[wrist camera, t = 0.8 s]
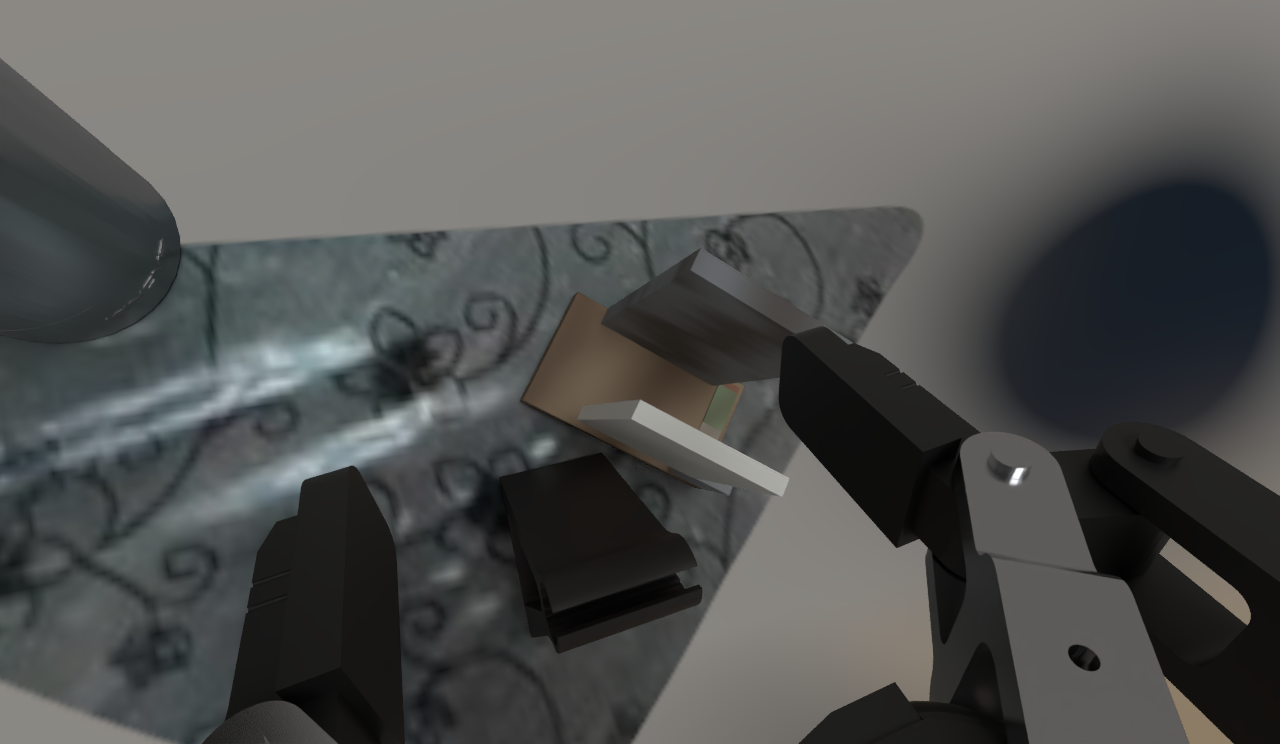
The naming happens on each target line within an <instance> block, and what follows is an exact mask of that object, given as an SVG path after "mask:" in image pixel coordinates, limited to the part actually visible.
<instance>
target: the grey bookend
mask: <svg viewBox="0 0 1280 744" xmlns="http://www.w3.org/2000/svg"><path fill="white" fill-rule="evenodd" d="M820 326H824V327H827V326H825V325H824V324H822V323H820V322H819V321H817V320H816V319H814V318H812V317H811V316H809V315H808V314H806V313H804V312H803V311H801V310H799V309H798V308H796V307H795V306H793V305H791V304H790V303H788V302H787V301H785V300H783V299H782V298H780V297H779V296H777V295H775V294H774V293H772V292H771V291H769V290H767V289H766V288H764V287H763V286H761V285H759V284H758V283H756V282H755V281H753V280H751V279H750V278H748V277H747V276H745V275H743V274H742V273H740V272H739V271H737V270H735V269H734V268H732V267H731V266H729V265H727V264H726V263H724V262H723V261H721V260H719V259H718V258H716V257H715V256H713V255H711V254H710V253H708V252H707V251H705V250H703V249H702V248H700V249H698V250H697V251H695V252H694V253H692V254H691V255H689V256H688V257H686V258H685V259H683V260H682V261H680V262H679V263H677V264H676V265H674V266H672V267H671V268H669V269H668V270H666V271H665V272H663V273H662V274H660V275H659V276H657V277H656V278H654V279H653V280H651V281H650V282H648V283H647V284H645V285H643V286H642V287H640V288H639V289H637V290H636V291H634V292H633V293H631V294H630V295H628V296H627V297H625V298H624V299H622V300H621V301H619V302H617V303H616V304H614V305H613V306H611V307H610V308H608V309H607V308H606V307H604V306H602V305H600V304H598V303H597V302H595V301H593V300H591V299H590V298H588V297H586V296H584V295H583V294H581V293H579V292H577V293H576V294H575V295H574V297H573V299H572V301H571V303H570V305H569V307H568V309H567V310H566V312H565V314H564V316H563V318H562V320H561V322H560V324H559V326H558V328H557V330H556V332H555V334H554V336H553V338H552V340H551V342H550V344H549V346H548V347H547V349H546V351H545V353H544V355H543V357H542V359H541V361H540V363H539V365H538V367H537V369H536V371H535V373H534V375H533V377H532V379H531V381H530V383H529V385H528V386H527V388H526V390H525V392H524V394H523V396H522V398H521V400H520V401H522V402H524V403H526V404H528V405H530V406H532V407H534V408H536V409H538V410H540V411H542V412H544V413H546V414H548V415H550V416H552V417H554V418H556V419H558V420H560V421H562V422H564V423H566V424H568V425H570V426H572V427H574V428H576V429H578V430H580V431H582V432H584V433H586V434H588V435H590V436H592V437H594V438H596V439H598V440H600V441H602V442H604V443H606V444H608V445H610V446H612V447H614V448H616V449H618V450H620V451H622V452H624V453H626V454H628V455H630V456H632V457H635V458H637V459H639V460H641V461H643V462H645V463H647V464H649V465H651V466H653V467H655V468H657V469H659V470H661V471H663V472H665V473H667V474H669V475H671V476H673V477H675V478H677V479H679V480H681V481H683V482H685V483H687V484H689V485H691V486H693V487H695V488H699V487H697V486H695V485H693V484H691V483H689V482H687V481H685V480H683V479H681V478H679V477H677V476H675V475H673V474H671V473H669V471H670V469H671V467H669V466H667V465H665V464H663V463H661V462H659V461H658V460H656V459H654V458H652V457H650V456H648V455H646V454H644V453H642V452H640V451H638V450H636V449H634V448H632V447H630V446H628V445H626V444H624V443H622V442H620V441H618V440H616V439H614V438H612V437H610V436H608V435H606V434H604V433H602V432H600V431H598V430H596V429H594V428H592V427H590V426H588V425H586V424H584V423H582V422H580V421H578V420H576V419H577V417H578V415H579V413H580V411H581V409H582V407H583V406H584V405H594V404H603V403H613V402H622V401H631V400H642V401H644V402H646V403H648V404H650V405H652V406H653V407H655V408H657V409H659V410H661V411H663V412H665V413H667V414H669V415H670V416H672V417H674V418H676V419H678V420H680V421H682V422H684V423H686V424H687V425H689V426H691V427H693V428H695V429H697V430H699V431H701V432H703V433H704V434H706V435H708V436H710V437H712V438H714V439H716V440H718V441H720V442H721V441H722V439H723V437H724V434H725V432H726V429H727V427H728V425H729V422H730V420H731V418H732V415H733V413H734V411H735V408H736V406H737V404H738V401H739V399H740V396H741V394H742V392H743V389H744V387H745V386H743V385H742V384H740V383H739V382H747V381H755V380H763V379H771V378H779V377H780V369H781V354H782V344H783V341H784V339H785V338H786V337H787V336H790V335H793V334H796V333H800V332H803V331H806V330H810V329H813V328H816V327H820ZM827 328H828V327H827ZM828 329H830V328H828ZM830 330H831V331H832V332H833V333H835V334H836V335H837V336H838V337H840V338H841V339H842V340H843V341H845V342H846V343H847V344H848V345H849V344H852V342H851V341H849V340H848V339H846V338H844V337H843V336H841V335H840V334H838V333H836V332H835V331H833V330H832V329H830ZM699 489H701V488H699Z"/></svg>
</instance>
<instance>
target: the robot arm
mask: <svg viewBox="0 0 1280 744" xmlns="http://www.w3.org/2000/svg"><path fill="white" fill-rule="evenodd" d="M179 260H180V236H179V232H178V228H177V225H176V221H175V218H174V216H173V214H172V212H171V211H170V209H169V207H168V205H167V204H166V202H165V200H164V199H163V198H162V196H160V194H159V193H158V192H157V191H156V190H155V189H154V188H153V186H152V185H151V184H150V183H149V182H148V181H146V180H145V179H144V178H143V177H141V176H140V175H139V174H138V173H137V172H136V171H134V170H133V169H132V168H131V167H130V166H128V165H127V164H126V163H125V162H123V161H122V160H121V159H120V158H119V157H118V156H116V155H115V154H114V153H113V152H112V151H111V150H109V148H107V147H106V146H105V145H104V144H103V143H101V142H100V141H99V140H98V139H97V138H95V137H94V136H93V135H92V134H91V133H89V132H88V131H87V130H86V129H85V128H83V127H82V126H81V125H80V124H79V123H77V122H76V121H75V120H74V119H72V118H71V117H70V116H69V115H68V114H67V113H65V112H64V111H63V110H62V109H61V108H59V107H58V106H57V105H56V104H55V103H53V102H52V101H51V100H50V99H48V98H47V97H46V96H45V95H44V94H43V93H41V92H40V91H39V90H38V89H36V88H35V87H34V86H33V85H32V84H31V83H29V82H28V81H27V80H26V79H24V78H23V77H22V76H21V75H20V74H19V73H17V72H16V71H15V70H14V69H13V68H11V67H10V66H9V65H8V64H7V63H5V62H4V61H3V60H2V59H1V58H0V335H4V336H9V337H14V338H19V339H24V340H29V341H34V342H48V343H70V342H80V341H89V340H92V339H96V338H100V337H103V336H107V335H110V334H113V333H115V332H117V331H120V330H122V329H124V328H126V327H128V326H130V325H132V324H134V323H135V322H137V321H138V320H139V319H141V318H142V317H143V316H145V315H146V314H147V313H149V312H150V311H151V310H153V308H154V307H155V306H156V305H157V304H158V303H159V302H160V300H161V299H162V298H163V297H164V296H165V295H166V293H167V292H168V290H169V288H170V286H171V284H172V282H173V280H174V278H175V276H176V273H177V269H178V264H179ZM779 405H780V409H781V412H782V415H783V417H784V419H785V421H786V423H787V425H788V426H789V427H790V428H791V430H792V431H793V432H794V433H795V434H796V435H797V436H798V437H799V439H800V440H801V441H802V442H803V443H804V444H805V445H806V447H807V448H809V450H810V451H811V452H812V453H813V454H814V456H815V457H816V458H817V459H818V460H819V461H820V462H821V463H822V465H823V466H824V467H825V468H826V469H827V470H828V471H829V472H830V474H831V475H832V476H833V477H834V478H835V479H836V480H837V482H838V483H839V484H840V485H841V486H842V487H843V488H844V489H845V491H846V492H847V493H848V494H849V495H850V496H851V497H852V498H853V500H854V501H855V502H856V503H857V504H858V505H859V506H860V507H861V509H862V510H863V511H864V512H865V513H866V514H867V515H868V516H869V518H870V519H871V520H872V521H873V522H874V523H875V524H876V526H877V527H878V528H879V529H880V530H881V531H882V532H883V533H884V535H886V537H887V538H888V539H889V540H890V541H891V542H892V544H894V546H895V547H896V548H898V547H901V546H903V545H905V544H908V543H910V542H912V541H915V540H917V539H920V540H921V541H922V542H923V543H924V544H925V545H926V546H927V547H928V549H927V553H926V557H925V563H926V575H927V585H928V586H927V587H928V597H929V610H930V621H931V631H932V644H933V670H932V676H931V683H930V698H929V701H911V702H909V701H908V700H907V698H906V697H905V696H904V694H903V693H902V692H901V690H900V689H899V687H898V686H897V684H896V683H895V682H894V683H892V684H890V685H888V686H886V687H884V688H882V689H880V690H877V691H875V692H873V693H871V694H869V695H867V696H865V697H863V698H861V699H858V700H856V701H854V702H852V703H850V704H848V705H846V706H844V707H842V708H840V709H837V710H835V711H833V712H831V713H830V714H829V715H828V716H827V717H826V718H825V719H824V720H823V721H822V722H821V723H820V724H818V725H817V727H816V728H814V729H813V730H812V731H811V732H810V733H809V734H808V735H807V736H806V737H805V738H804V739H803V740H802V741H801V742H800V743H799V744H1189V741H1188V738H1187V736H1186V733H1185V730H1184V728H1183V725H1182V723H1181V720H1180V717H1179V715H1178V712H1177V709H1176V707H1175V704H1174V701H1173V699H1172V697H1171V694H1170V691H1169V688H1168V687H1167V683H1166V681H1165V678H1164V676H1165V677H1166V678H1167V679H1168V680H1169V681H1171V683H1172V684H1173V685H1174V686H1176V688H1177V689H1178V690H1179V691H1180V692H1181V693H1183V695H1184V696H1185V697H1186V698H1188V699H1189V700H1190V701H1191V702H1192V703H1193V704H1194V705H1195V706H1196V707H1197V708H1198V709H1199V710H1200V711H1201V712H1202V713H1203V714H1204V715H1205V716H1206V717H1207V718H1208V719H1209V720H1210V721H1211V722H1212V723H1213V724H1214V725H1215V726H1216V727H1218V729H1219V730H1220V731H1221V732H1222V733H1223V734H1224V735H1225V736H1226V737H1227V738H1229V739H1230V740H1231V741H1232V742H1233V743H1234V744H1280V496H1279V495H1277V494H1276V493H1274V492H1272V491H1271V490H1269V489H1268V488H1266V487H1264V486H1263V485H1261V484H1260V483H1258V482H1257V481H1255V480H1254V479H1252V478H1250V477H1249V476H1247V475H1246V474H1244V473H1243V472H1241V471H1239V470H1238V469H1236V468H1235V467H1233V466H1232V465H1230V464H1228V463H1227V462H1225V461H1224V460H1222V459H1221V458H1219V457H1217V456H1216V455H1214V454H1213V453H1211V452H1209V451H1208V450H1206V449H1205V448H1203V447H1202V446H1200V445H1198V444H1197V443H1195V442H1194V441H1192V440H1190V439H1188V438H1187V437H1185V436H1183V435H1181V434H1179V433H1177V432H1175V431H1172V430H1169V429H1167V428H1163V427H1160V426H1156V425H1152V424H1147V423H1140V422H1125V423H1119V424H1115V425H1113V426H1111V427H1109V428H1108V429H1107V430H1105V432H1104V433H1103V435H1102V437H1101V439H1100V441H1099V443H1098V445H1097V447H1096V449H1087V450H1073V451H1058V452H1048V451H1047V450H1045V449H1044V448H1043V447H1041V446H1040V445H1038V444H1036V443H1034V442H1032V441H1030V440H1028V439H1026V438H1023V437H1020V436H1017V435H1013V434H1009V433H1003V432H985V433H980V432H979V431H978V430H976V429H975V428H974V427H973V426H971V425H970V424H969V423H967V422H966V421H965V420H964V419H962V418H961V417H959V415H957V414H956V413H955V412H953V411H952V410H951V409H949V408H948V407H947V406H946V405H944V404H943V403H942V402H941V401H939V400H938V399H937V398H936V397H934V396H933V395H932V394H930V393H929V392H928V391H926V390H925V389H924V388H923V387H921V386H920V385H919V386H917V385H916V382H915V381H914V380H913V379H911V378H910V377H909V376H908V375H906V374H905V373H904V372H903V373H900V371H899V368H897V367H896V366H895V365H893V364H892V363H891V362H890V361H888V360H887V359H886V358H884V357H883V356H882V355H881V354H879V353H877V352H874V351H872V350H869V349H867V348H865V347H862V346H860V345H857V344H855V343H852V344H849V345H848V344H847V343H846V342H845V341H843V340H842V339H841V338H840V337H838V336H837V335H836V334H835V333H833V332H832V331H831V330H830V329H828V328H827V327H824V326H820V327H816V328H813V329H810V330H806V331H803V332H800V333H796V334H793V335H790V336H787V337H786V338H785V339H784V341H783V344H782V354H781V369H780V384H779ZM1170 538H1172V539H1173V540H1174V541H1175V542H1177V543H1178V544H1179V545H1181V546H1182V547H1183V548H1184V549H1186V550H1187V551H1188V552H1190V553H1191V554H1192V555H1193V556H1195V557H1196V558H1197V559H1198V560H1200V561H1201V562H1202V563H1203V564H1205V565H1206V566H1207V567H1209V568H1210V569H1211V570H1212V571H1214V572H1215V573H1216V574H1218V575H1219V576H1220V577H1222V578H1223V579H1224V580H1225V581H1227V582H1228V583H1229V584H1230V585H1232V586H1233V587H1234V588H1235V589H1236V590H1238V592H1239V593H1240V594H1241V595H1242V596H1243V598H1244V599H1245V600H1246V602H1247V604H1248V606H1249V609H1250V612H1251V620H1250V623H1249V624H1248V625H1246V624H1244V623H1243V622H1242V621H1241V620H1240V619H1238V618H1237V617H1236V616H1235V615H1234V614H1232V613H1231V612H1230V611H1229V610H1227V609H1226V608H1225V607H1224V606H1223V605H1221V604H1220V603H1219V602H1218V601H1216V600H1215V599H1214V598H1213V597H1212V596H1210V595H1209V594H1208V593H1207V592H1205V591H1204V590H1203V589H1202V588H1201V587H1199V586H1198V585H1197V584H1195V583H1194V582H1193V581H1192V580H1191V579H1190V578H1188V577H1187V576H1186V575H1185V574H1183V573H1182V572H1181V571H1180V570H1178V569H1177V568H1176V567H1175V566H1173V565H1172V564H1171V563H1170V562H1169V561H1168V560H1166V559H1165V558H1164V557H1163V556H1161V555H1160V554H1159V553H1160V551H1161V550H1162V549H1163V547H1164V546H1165V544H1166V543H1167V542H1168V540H1169V539H1170ZM252 583H253V587H252V588H251V589H250V595H249V600H248V605H247V608H248V611H249V612H248V613H246V616H245V621H244V627H243V632H242V637H241V643H240V648H239V653H238V659H237V664H236V669H235V675H234V680H233V685H232V691H231V696H230V701H229V707H228V711H227V715H226V719H225V722H224V723H223V724H222V725H220V726H219V727H218V728H217V729H216V730H215V731H213V732H212V734H211V735H210V736H209V737H208V738H207V739H206V740H205V741H204V742H203V743H202V744H405V739H404V716H403V694H402V671H401V648H400V626H399V603H398V580H397V559H396V551H395V546H394V542H393V538H392V535H391V532H390V529H389V527H388V525H387V523H386V521H385V519H384V517H383V515H382V513H381V511H380V509H379V508H378V506H377V504H376V502H375V500H374V498H373V496H372V495H371V493H370V491H369V489H368V487H367V485H366V483H365V482H364V480H363V478H362V476H361V474H360V472H359V471H358V470H357V468H356V467H354V466H349V467H346V468H343V469H339V470H336V471H333V472H329V473H326V474H323V475H319V476H316V477H313V478H309V479H306V480H304V481H303V483H302V486H301V493H300V501H299V508H298V515H297V516H294V517H291V518H287V519H284V520H281V521H278V522H276V524H275V525H274V527H273V528H272V530H271V532H270V533H269V535H268V536H267V538H266V539H265V541H264V543H263V544H262V546H261V547H260V549H259V550H258V552H257V557H256V563H255V568H254V573H253V579H252Z"/></svg>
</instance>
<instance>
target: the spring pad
mask: <svg viewBox="0 0 1280 744" xmlns="http://www.w3.org/2000/svg"><path fill="white" fill-rule="evenodd" d="M576 420H578V421H580V422H582V423H584V424H586V425H588V426H590V427H592V428H594V429H596V430H598V431H600V432H602V433H604V434H606V435H608V436H610V437H612V438H614V439H616V440H618V441H620V442H622V443H624V444H626V445H628V446H630V447H632V448H634V449H636V450H638V451H640V452H642V453H644V454H646V455H648V456H650V457H652V458H654V459H656V460H658V461H659V462H661V463H663V464H665V465H667V466H669V467H671V469H670V471H669V473H671V474H673V475H675V476H677V477H679V478H681V479H683V480H685V481H687V482H689V483H691V484H693V485H695V486H697V487H699V488H701V489H705V490H709V491H713V492H717V493H721V494H725V495H730V493H731V490H732V488H733V486H734V487H738V488H743V489H747V490H752V491H757V492H761V493H766V494H770V495H775V496H780V497H782V496H783V494H784V491H785V489H786V486H787V483H788V481H789V478H788V477H786V476H784V475H782V474H780V473H778V472H776V471H774V470H773V469H771V468H769V467H767V466H765V465H763V464H761V463H759V462H757V461H755V460H754V459H752V458H750V457H748V456H746V455H744V454H742V453H740V452H738V451H737V450H735V449H733V448H731V447H729V446H727V445H725V444H723V443H721V442H720V441H718V440H716V439H714V438H712V437H710V436H708V435H706V434H704V433H703V432H701V431H699V430H697V429H695V428H693V427H691V426H689V425H687V424H686V423H684V422H682V421H680V420H678V419H676V418H674V417H672V416H670V415H669V414H667V413H665V412H663V411H661V410H659V409H657V408H655V407H653V406H652V405H650V404H648V403H646V402H644V401H642V400H631V401H622V402H613V403H603V404H594V405H584V406H583V407H582V409H581V411H580V413H579V415H578V417H577V419H576Z"/></svg>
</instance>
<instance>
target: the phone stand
mask: <svg viewBox="0 0 1280 744" xmlns="http://www.w3.org/2000/svg"><path fill="white" fill-rule="evenodd" d="M500 483H501V488H502V493H503V498H504V503H505V508H506V513H507V518H508V523H509V528H510V533H511V538H512V543H513V549H514V553H515V557H516V564H517V569H518V574H519V579H520V584H521V589H522V594H523V599H524V604H525V609H526V614H527V619H528V624H529V629H530V633H531V637H532V638H533V637H539V636H546V635H548V636H549V637H550V639H551V641H552V643H553V645H554V648H555V650H556V652H557V653H558V654H559V653H562V652H565V651H568V650H570V649H573V648H576V647H579V646H582V645H585V644H587V643H590V642H593V641H596V640H599V639H602V638H605V637H607V636H610V635H613V634H616V633H619V632H622V631H625V630H627V629H630V628H633V627H636V626H639V625H642V624H644V623H647V622H650V621H653V620H656V619H659V618H662V617H664V616H667V615H670V614H673V613H676V612H679V611H681V610H684V609H687V608H690V607H693V606H696V605H698V604H700V602H701V599H702V588H701V587H700V585H696V586H693V587H690V588H687V589H684V587H683V585H682V584H681V583H680V579H679V578H678V576H677V575H676V573H677V572H680V571H683V570H686V569H689V568H692V567H696V566H697V563H696V560H695V558H694V555H693V553H692V551H691V549H690V547H689V545H688V544H687V542H686V541H685V539H684V538H683V537H682V536H681V535H679V534H677V533H671V532H669V531H667V530H666V529H665V528H664V527H663V526H662V525H661V524H660V523H659V521H658V520H657V519H656V518H655V517H654V515H653V514H652V513H651V512H650V510H649V509H648V508H647V507H646V506H645V504H644V503H643V502H642V501H641V500H640V498H639V497H638V496H637V495H636V494H635V492H634V491H633V490H632V489H631V488H630V486H629V485H628V484H627V483H626V481H625V480H624V479H623V478H622V477H621V475H620V474H619V473H618V472H617V471H616V469H615V468H614V467H613V466H612V465H611V463H610V462H609V461H608V460H607V458H606V457H605V456H604V455H603V454H602V453H599V454H595V455H591V456H586V457H582V458H578V459H574V460H570V461H566V462H562V463H557V464H553V465H549V466H545V467H541V468H537V469H532V470H528V471H524V472H520V473H516V474H512V475H508V476H503V477H500Z"/></svg>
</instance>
